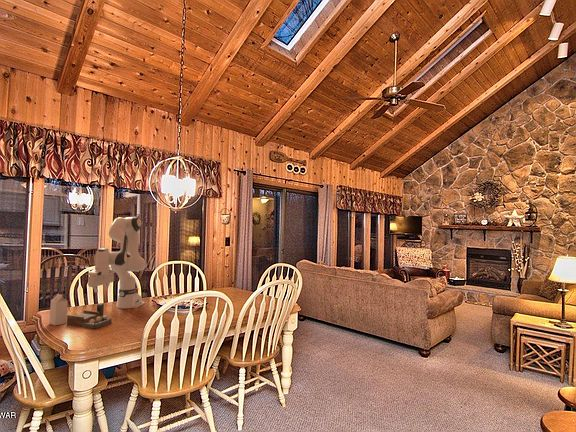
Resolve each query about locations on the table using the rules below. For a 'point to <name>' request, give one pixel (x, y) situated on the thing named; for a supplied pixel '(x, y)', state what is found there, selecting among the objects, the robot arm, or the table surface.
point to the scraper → (101, 310)
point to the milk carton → (58, 310)
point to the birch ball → (98, 319)
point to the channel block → (81, 318)
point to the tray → (97, 324)
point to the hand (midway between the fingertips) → (101, 290)
